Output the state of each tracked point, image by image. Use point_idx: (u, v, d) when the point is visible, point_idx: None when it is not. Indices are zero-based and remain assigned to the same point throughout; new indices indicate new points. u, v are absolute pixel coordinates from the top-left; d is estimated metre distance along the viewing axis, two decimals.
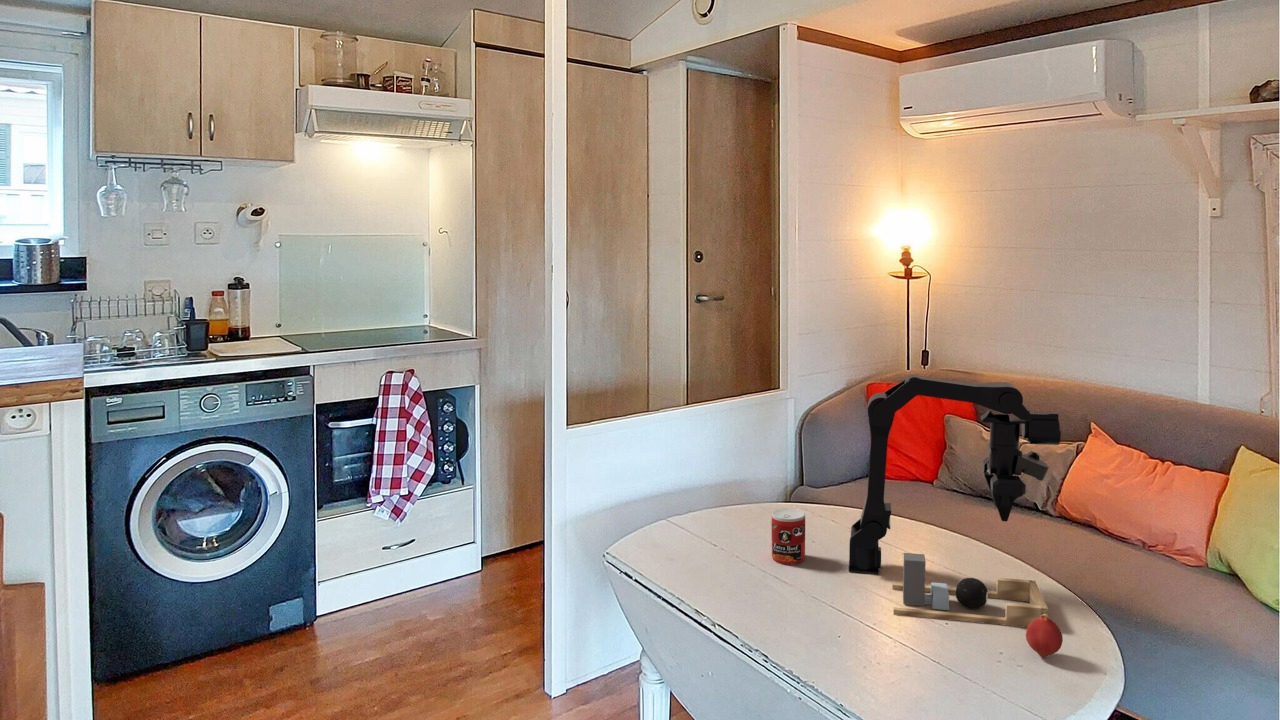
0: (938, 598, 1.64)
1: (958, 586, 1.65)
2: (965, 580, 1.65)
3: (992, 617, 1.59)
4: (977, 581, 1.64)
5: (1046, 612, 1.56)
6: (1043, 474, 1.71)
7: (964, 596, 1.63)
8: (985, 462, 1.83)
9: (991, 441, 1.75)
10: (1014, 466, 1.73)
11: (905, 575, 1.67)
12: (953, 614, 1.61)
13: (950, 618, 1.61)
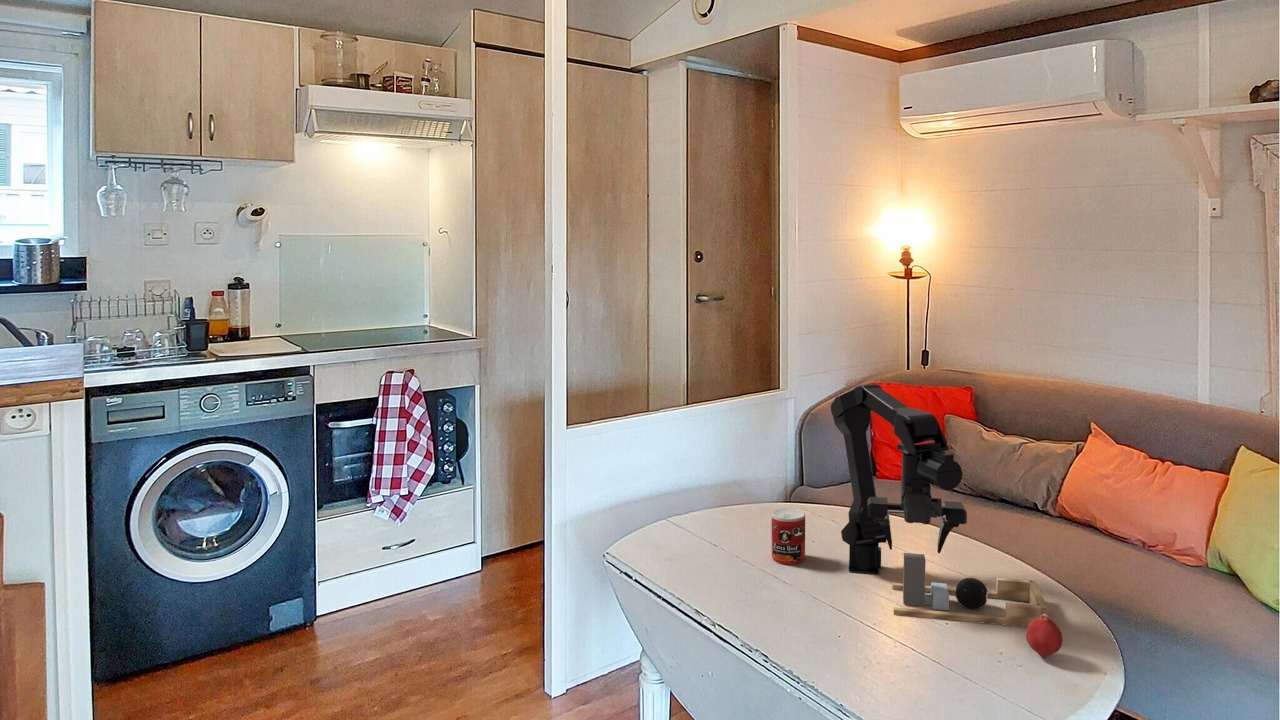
0: (938, 598, 1.64)
1: (958, 586, 1.65)
2: (965, 580, 1.65)
3: (992, 617, 1.59)
4: (977, 581, 1.64)
5: (1046, 612, 1.56)
6: (905, 515, 1.60)
7: (964, 596, 1.63)
8: None
9: None
10: None
11: (905, 575, 1.67)
12: (953, 614, 1.61)
13: (950, 618, 1.61)
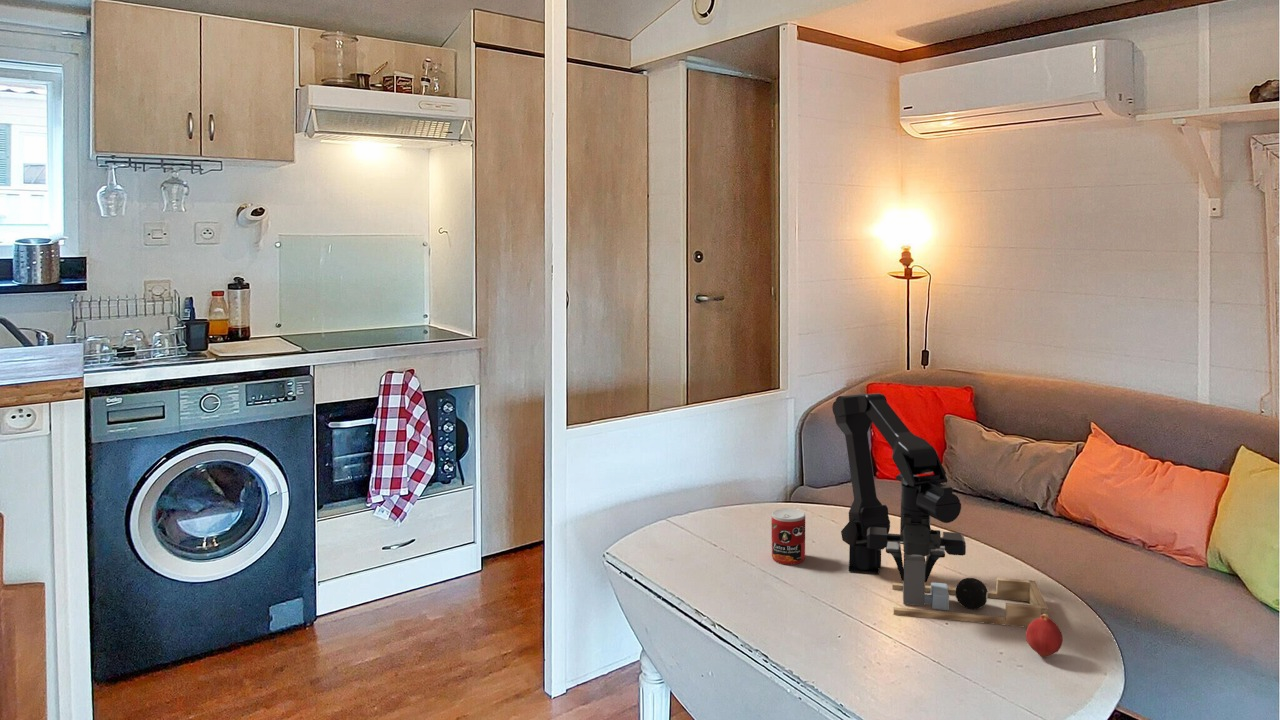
0: (938, 598, 1.64)
1: (958, 586, 1.65)
2: (965, 580, 1.65)
3: (992, 617, 1.59)
4: (977, 581, 1.64)
5: (1046, 612, 1.56)
6: (904, 547, 1.60)
7: (964, 596, 1.63)
8: None
9: None
10: None
11: (905, 575, 1.67)
12: (953, 614, 1.61)
13: (950, 618, 1.61)
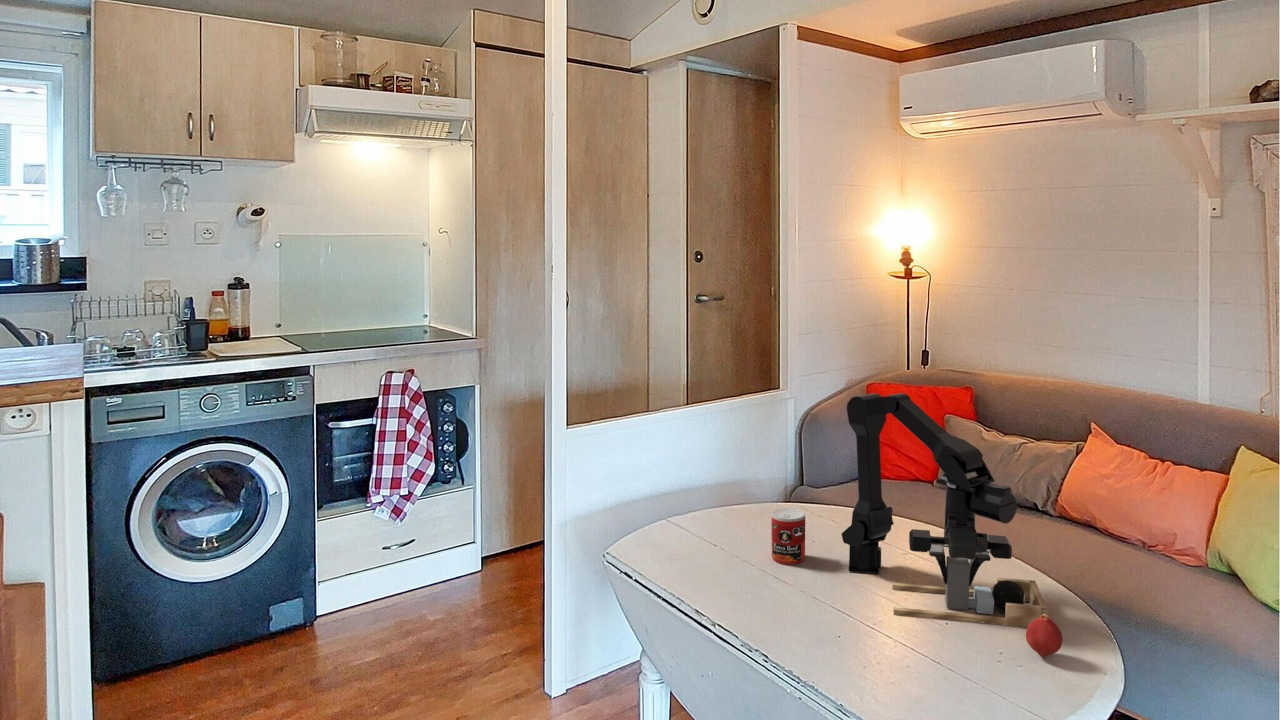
0: (983, 602, 1.62)
1: (995, 589, 1.64)
2: (1002, 583, 1.63)
3: (992, 617, 1.59)
4: (1014, 584, 1.63)
5: (1046, 612, 1.56)
6: (950, 550, 1.58)
7: (1001, 599, 1.62)
8: None
9: None
10: None
11: (949, 579, 1.64)
12: (953, 614, 1.61)
13: (950, 618, 1.61)
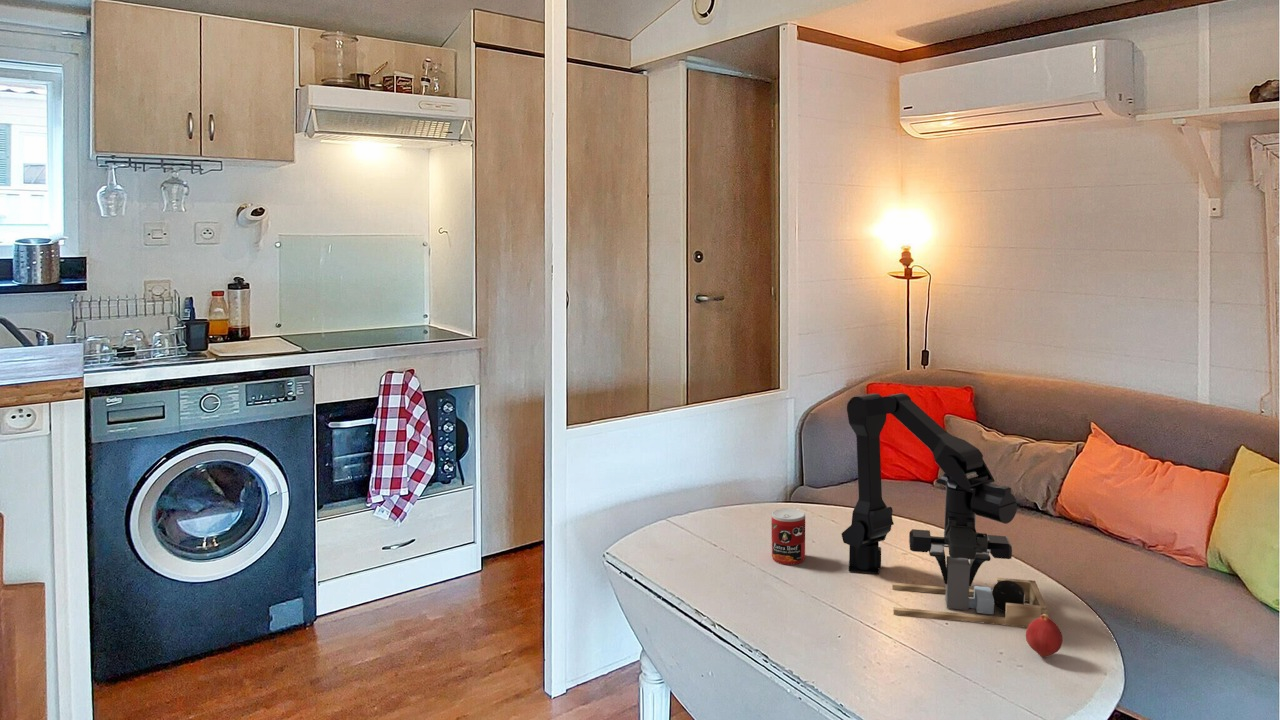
0: (983, 602, 1.62)
1: (995, 589, 1.64)
2: (1002, 583, 1.63)
3: (992, 617, 1.59)
4: (1014, 584, 1.63)
5: (1046, 612, 1.56)
6: (950, 550, 1.58)
7: (1002, 599, 1.62)
8: None
9: None
10: None
11: (949, 579, 1.64)
12: (953, 614, 1.61)
13: (950, 618, 1.61)
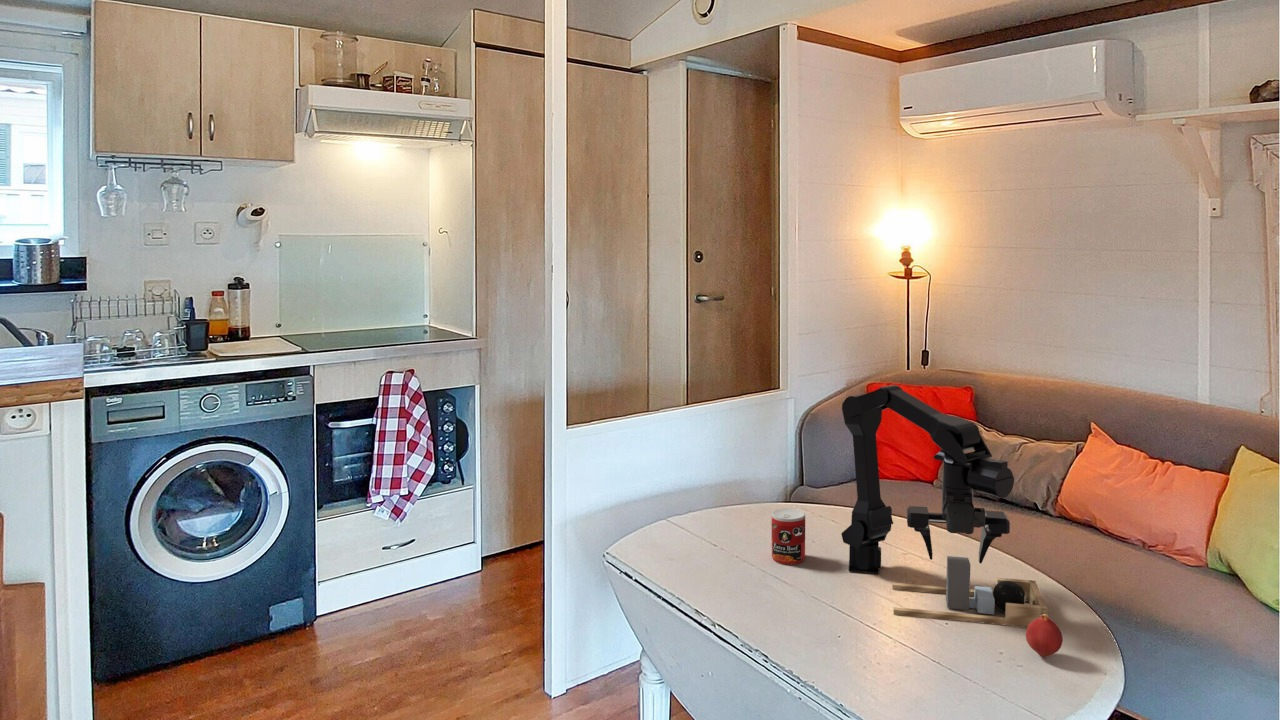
0: (984, 602, 1.62)
1: (995, 589, 1.63)
2: (1002, 583, 1.63)
3: (992, 617, 1.59)
4: (1015, 584, 1.63)
5: (1046, 612, 1.56)
6: (947, 525, 1.58)
7: (1002, 599, 1.62)
8: None
9: None
10: None
11: (949, 579, 1.64)
12: (953, 614, 1.61)
13: (950, 618, 1.61)
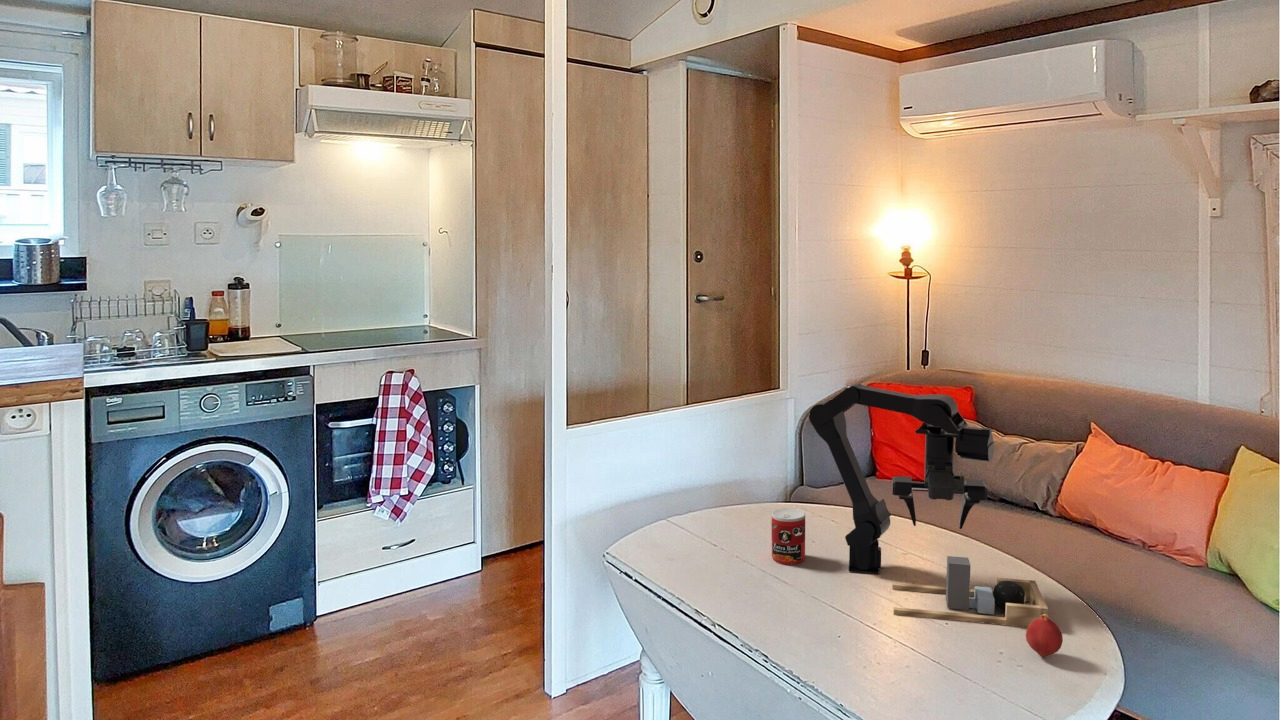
0: (984, 602, 1.62)
1: (995, 589, 1.63)
2: (1002, 583, 1.63)
3: (992, 617, 1.59)
4: (1015, 584, 1.63)
5: (1046, 612, 1.56)
6: (929, 491, 1.68)
7: (1002, 599, 1.62)
8: None
9: (925, 453, 1.75)
10: None
11: (949, 579, 1.64)
12: (953, 614, 1.61)
13: (950, 618, 1.61)
